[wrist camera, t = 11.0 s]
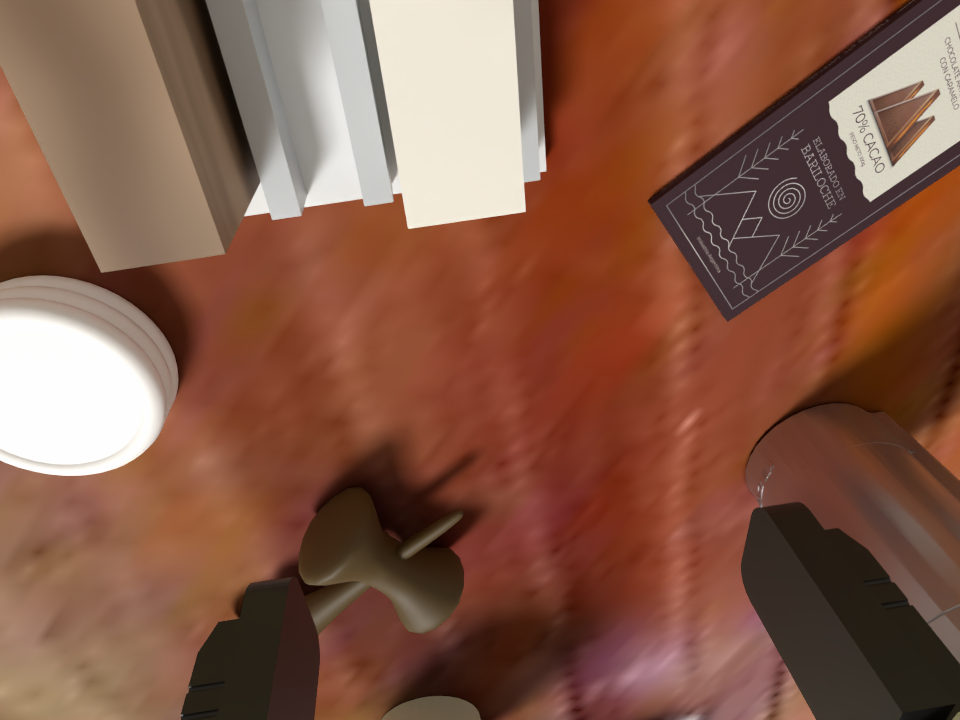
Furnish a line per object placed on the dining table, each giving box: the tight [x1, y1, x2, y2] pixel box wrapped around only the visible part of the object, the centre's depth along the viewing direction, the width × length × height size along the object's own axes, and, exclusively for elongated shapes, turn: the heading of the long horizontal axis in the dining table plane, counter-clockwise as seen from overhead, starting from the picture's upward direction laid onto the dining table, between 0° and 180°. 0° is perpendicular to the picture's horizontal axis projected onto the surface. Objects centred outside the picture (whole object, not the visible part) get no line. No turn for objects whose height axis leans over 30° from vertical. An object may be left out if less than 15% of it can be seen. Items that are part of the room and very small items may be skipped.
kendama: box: [299, 487, 464, 635], centre depth 41 cm, size 6×10×20 cm
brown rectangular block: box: [0, 0, 261, 273], centre depth 21 cm, size 4×10×8 cm, turn 6°
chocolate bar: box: [648, 0, 960, 321], centre depth 32 cm, size 9×1×18 cm
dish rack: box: [206, 0, 546, 220], centre depth 24 cm, size 19×13×4 cm
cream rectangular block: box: [369, 0, 526, 229], centre depth 22 cm, size 4×10×8 cm, turn 5°
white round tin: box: [0, 275, 178, 476], centre depth 31 cm, size 10×10×4 cm
